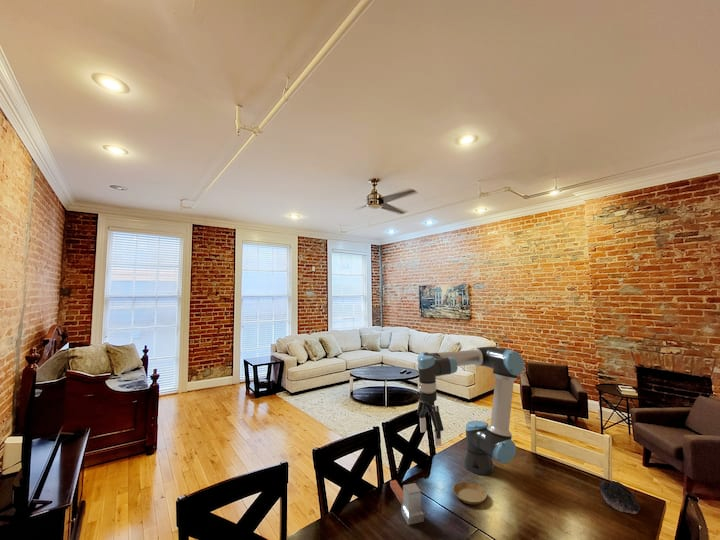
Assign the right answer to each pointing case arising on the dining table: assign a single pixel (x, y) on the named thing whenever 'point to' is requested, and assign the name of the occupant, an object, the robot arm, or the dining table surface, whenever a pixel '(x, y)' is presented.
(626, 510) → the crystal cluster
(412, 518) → the mallet
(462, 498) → the plant saucer
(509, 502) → the dining table surface
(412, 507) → the white upright block
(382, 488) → the dining table surface
